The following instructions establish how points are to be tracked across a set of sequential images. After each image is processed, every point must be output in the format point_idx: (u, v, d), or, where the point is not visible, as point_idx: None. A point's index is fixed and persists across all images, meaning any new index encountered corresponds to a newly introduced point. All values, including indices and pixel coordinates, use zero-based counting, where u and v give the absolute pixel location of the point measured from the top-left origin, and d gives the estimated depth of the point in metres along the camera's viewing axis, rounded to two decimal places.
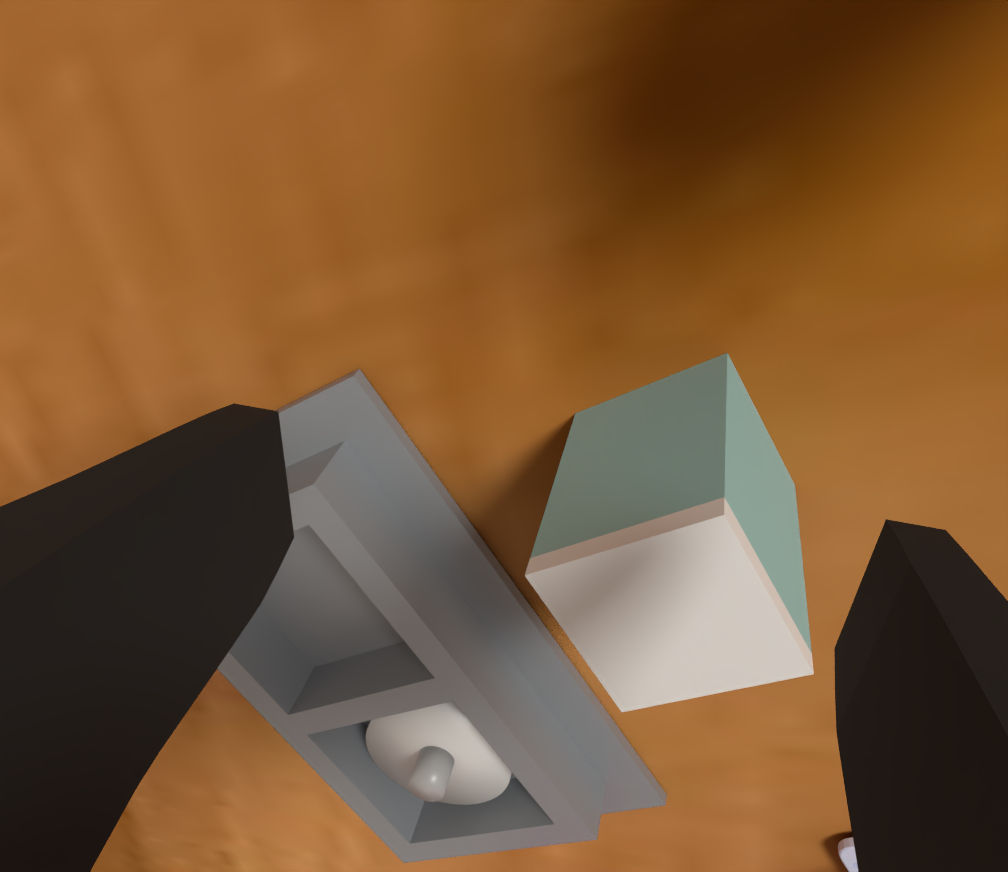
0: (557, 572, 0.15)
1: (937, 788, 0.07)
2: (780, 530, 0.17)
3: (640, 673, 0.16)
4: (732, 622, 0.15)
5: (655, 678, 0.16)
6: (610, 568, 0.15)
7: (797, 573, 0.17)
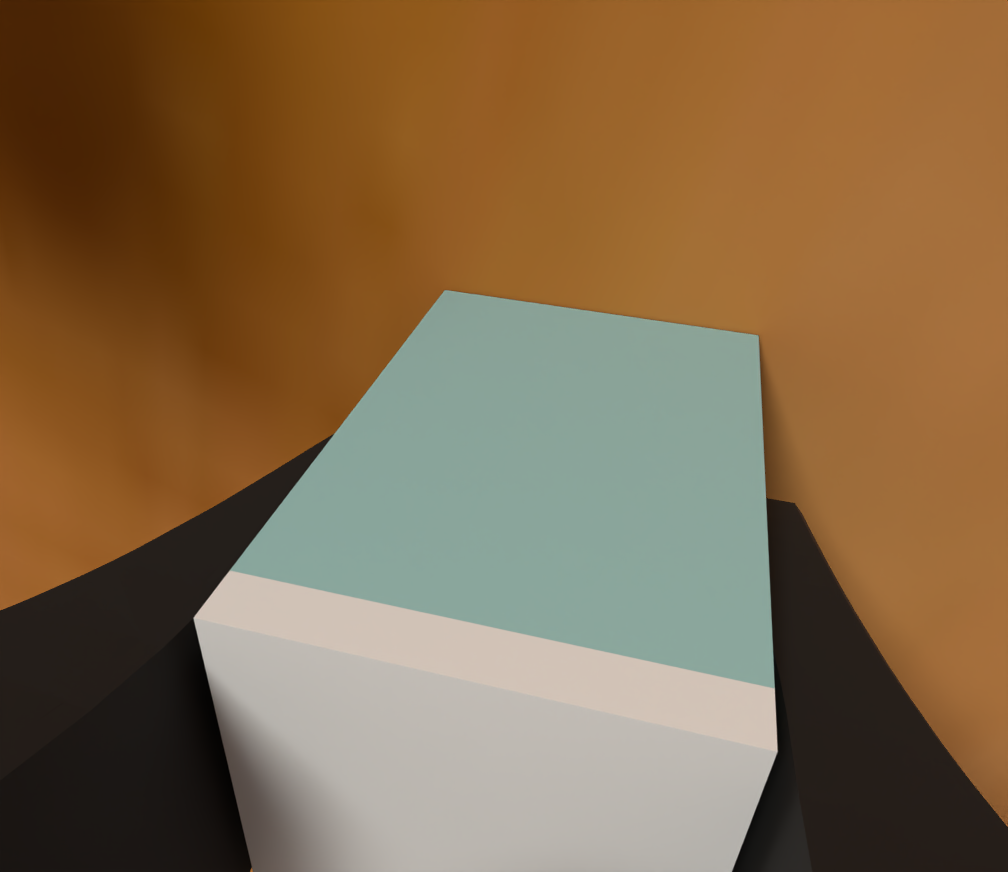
0: None
1: None
2: (622, 467, 0.07)
3: None
4: (509, 770, 0.06)
5: None
6: (282, 822, 0.07)
7: (717, 511, 0.07)
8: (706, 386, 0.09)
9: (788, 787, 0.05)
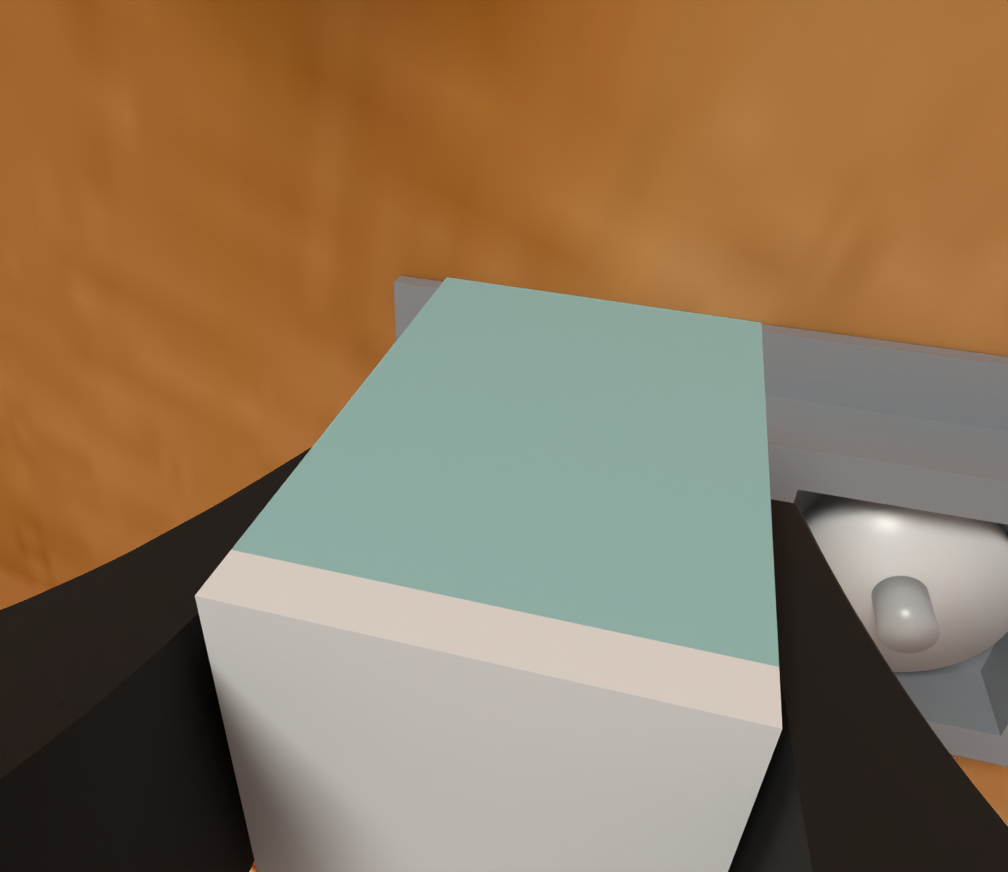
0: (269, 859, 0.08)
1: None
2: (625, 450, 0.07)
3: None
4: (511, 750, 0.06)
5: None
6: (283, 805, 0.07)
7: (720, 493, 0.07)
8: (709, 372, 0.09)
9: (788, 787, 0.05)
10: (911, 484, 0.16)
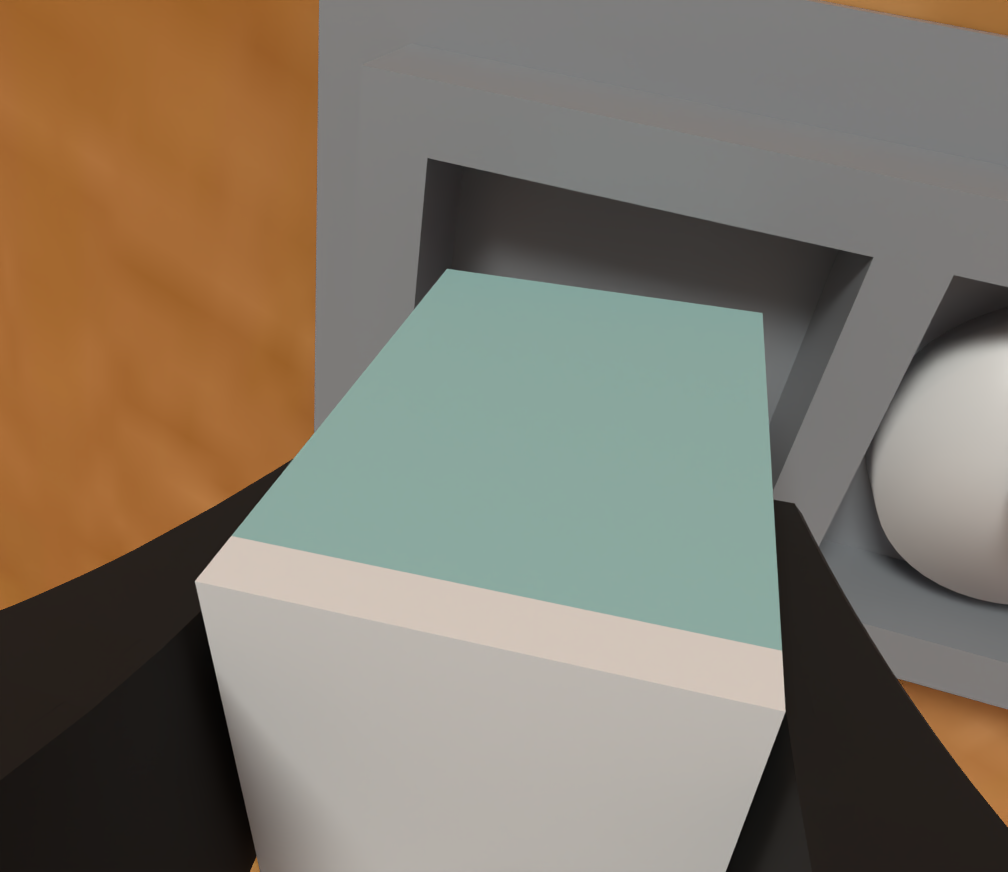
0: (270, 849, 0.07)
1: None
2: (626, 437, 0.07)
3: None
4: (513, 735, 0.06)
5: None
6: (282, 794, 0.07)
7: (722, 480, 0.07)
8: (710, 361, 0.09)
9: (787, 786, 0.05)
10: None
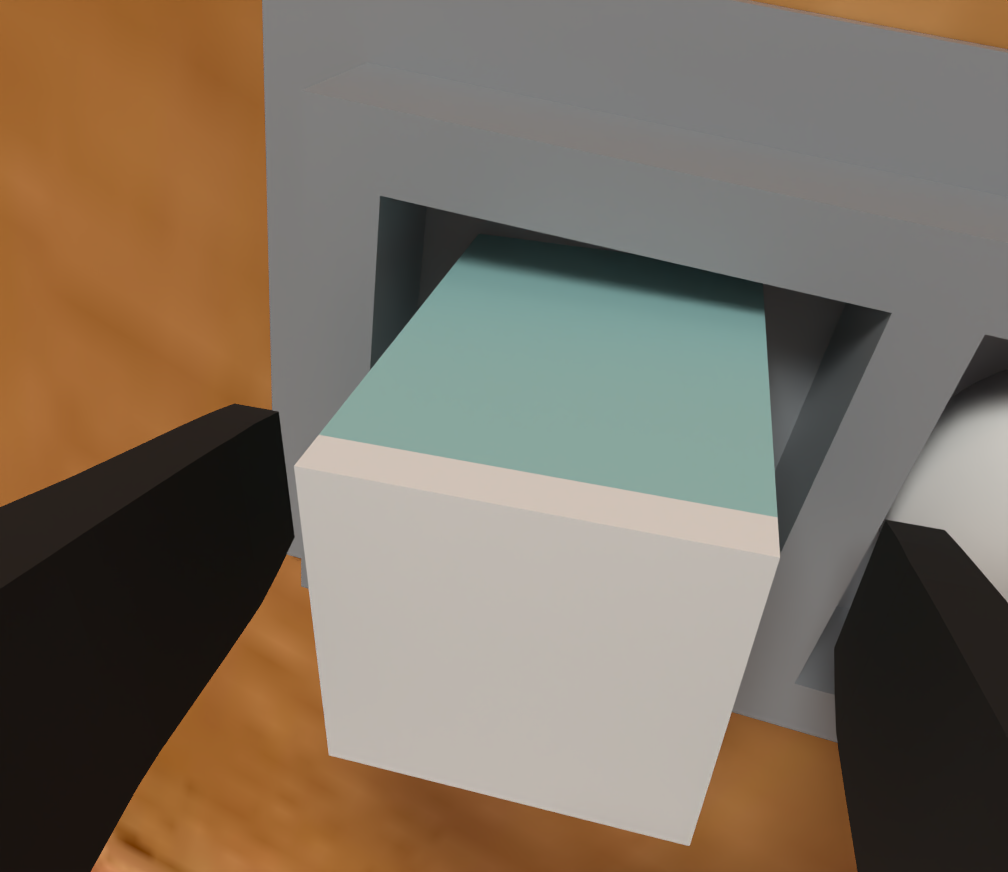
0: (338, 721, 0.09)
1: (936, 789, 0.07)
2: (644, 365, 0.09)
3: (609, 771, 0.08)
4: (556, 594, 0.07)
5: (634, 763, 0.08)
6: (354, 665, 0.08)
7: (727, 397, 0.08)
8: (716, 308, 0.10)
9: None
10: None
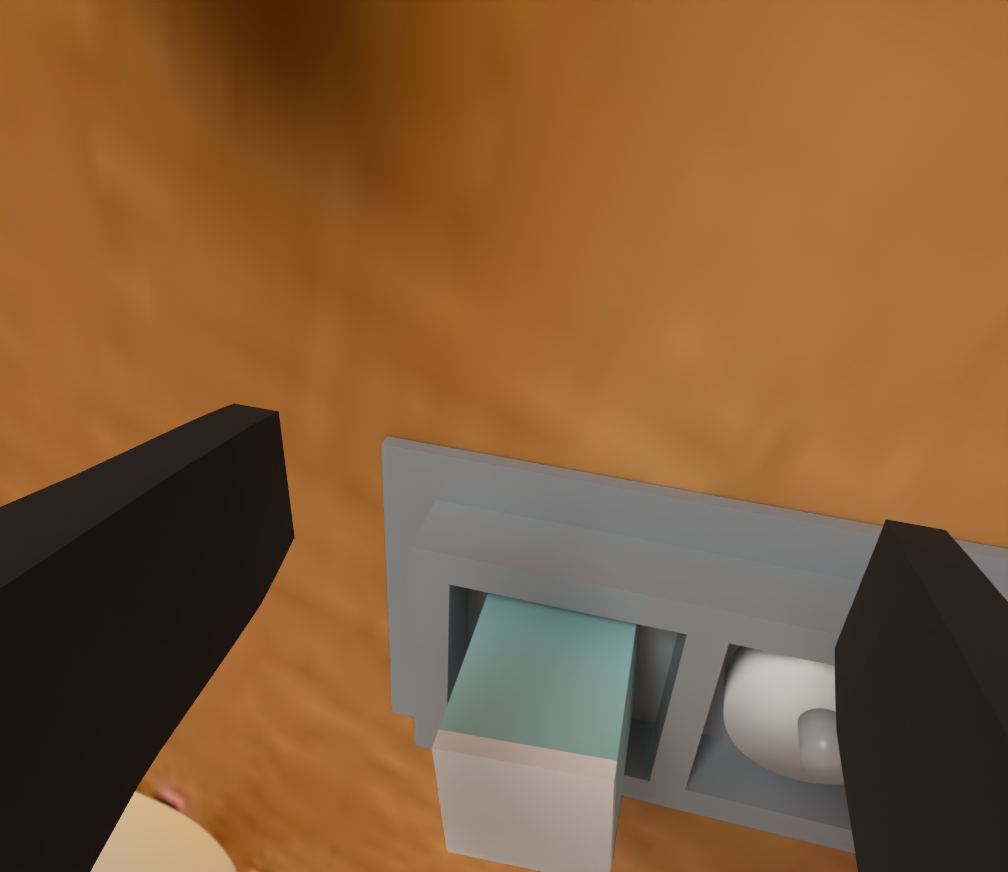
0: (451, 837, 0.20)
1: (937, 789, 0.07)
2: (574, 671, 0.19)
3: (569, 856, 0.19)
4: (536, 791, 0.18)
5: (579, 852, 0.19)
6: (457, 815, 0.19)
7: (608, 690, 0.19)
8: (613, 622, 0.21)
9: None
10: (824, 645, 0.19)
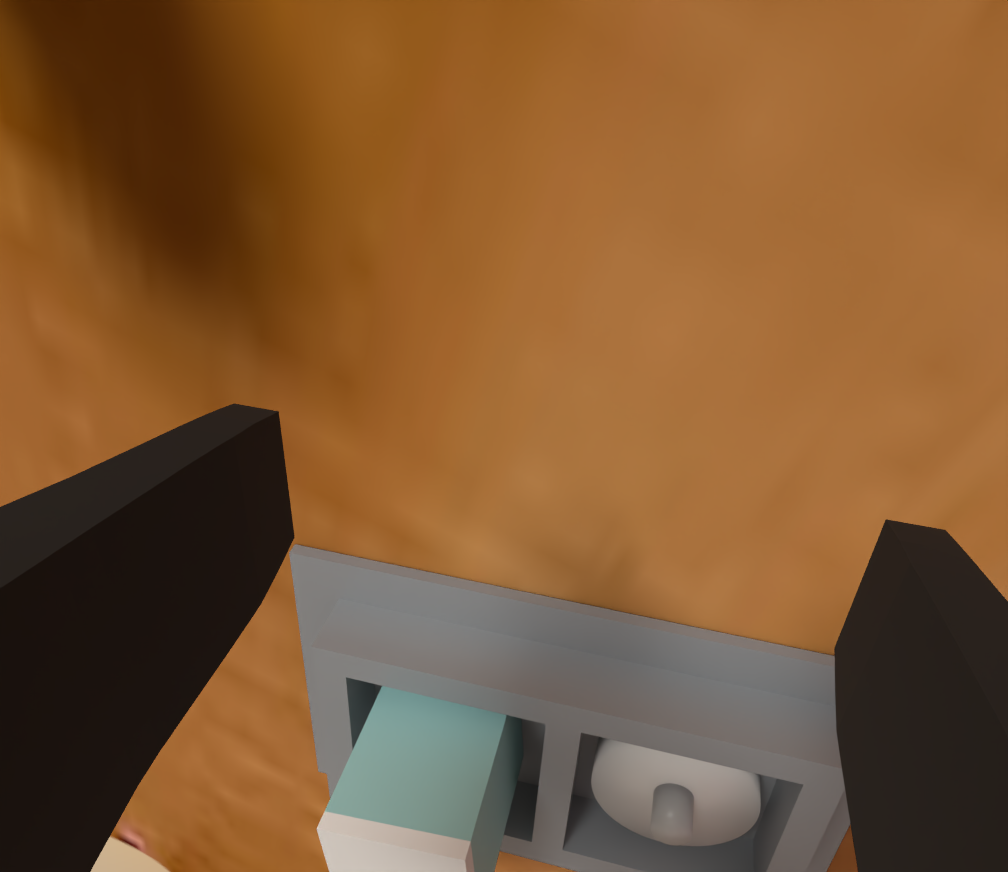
0: None
1: (937, 789, 0.07)
2: (447, 757, 0.23)
3: None
4: (405, 865, 0.21)
5: None
6: None
7: (473, 775, 0.22)
8: None
9: None
10: (658, 736, 0.22)
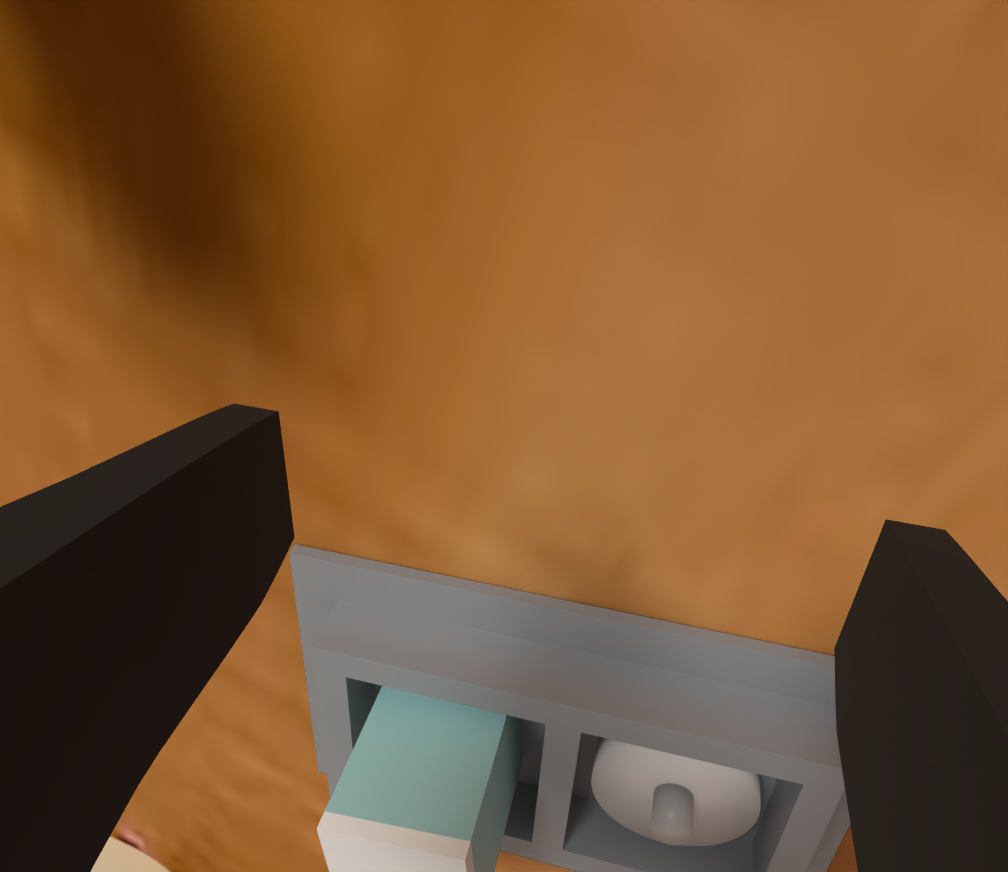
0: None
1: (937, 789, 0.07)
2: (447, 757, 0.23)
3: None
4: (405, 865, 0.21)
5: None
6: None
7: (473, 775, 0.22)
8: None
9: None
10: (658, 736, 0.22)
